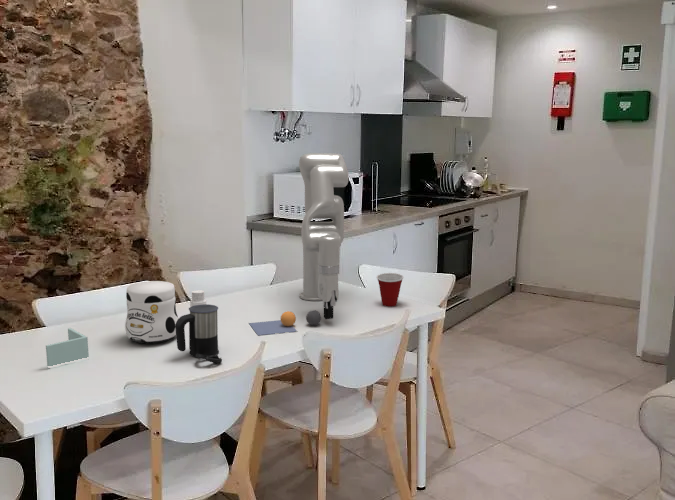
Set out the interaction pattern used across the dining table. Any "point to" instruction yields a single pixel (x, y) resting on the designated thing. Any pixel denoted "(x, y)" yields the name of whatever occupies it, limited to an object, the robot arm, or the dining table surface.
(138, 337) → the milk container
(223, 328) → the dining table surface
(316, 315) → the gray ball
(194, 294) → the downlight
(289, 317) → the orange ball
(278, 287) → the dining table surface
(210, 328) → the milk frother
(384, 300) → the plastic cup
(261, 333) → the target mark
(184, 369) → the dining table surface
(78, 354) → the right angle wall
